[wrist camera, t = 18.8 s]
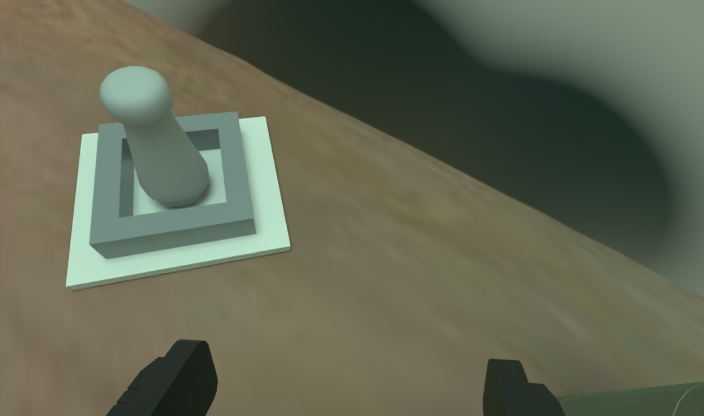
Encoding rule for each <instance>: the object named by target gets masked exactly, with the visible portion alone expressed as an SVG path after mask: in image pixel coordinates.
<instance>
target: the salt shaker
mask: <svg viewBox="0 0 704 416" xmlns="http://www.w3.org/2000/svg"><path fill="white" fill-rule="evenodd" d="M99 96H100V99H101V102H102V104H103V106H104V107H105V108H106V110H107V111H108V112H109V114H110V115H111V116H112V118H113V119H114V120H116V121H117V122H119V123H122V124H123V126H124V130H125V134H126V137H127V141H128V144H129V148H130V152H131V155H132V159H133V163H134V166H135V170H136V173H137V177H138V181H139V184H140V186H141V187H142V189H143V190H144V191H145V193H146V194H147V195H148V196H149V197H150V198H152V199H154V200H156V201H158V202H160V203H163V204H165V205H168V206H171V207H178V206H184V205H190V204H194V203H195V202H196V200H197V199H198V198H199V197H200V195H201V194H202V193H203V191H204V190H205V188H206V185H207V183H208V180H209V174H208V166H207V163H206V161H205V160H204V158H203V157H202V156H201V154H200V153H199V151H198V150H197V149H196V147H195V146H194V144H193V143H192V142H191V140H190V139H189V138H188V136H187V135H186V133H185V132H184V130H183V129H182V127H181V126H180V124H179V123H178V121H177V120H176V118H175V117H174V115H173V114H172V112H171V109H172V107H173V100H172V93H171V90H170V87H169V85H168V84H167V82H166V81H165V79H164V78H163V77H162V76H161V75H160V73H159V72H156V71H154V70H151V69H149V68H146V67H140V66H129V67H124V68H120V69H118V70H116V71H114V72H112V73H110V74H109V75H108V76H107V77H106V79H105V80H104V81H103V83H102V84H101V85H100V94H99Z"/></svg>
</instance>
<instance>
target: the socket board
mask: <svg viewBox="0 0 704 416" xmlns="http://www.w3.org/2000/svg"><path fill="white" fill-rule="evenodd" d="M175 118H176V120H177V121H178V123H179V124H180V126H181V127H182V129H183V130H184V132H185V133H186V135H187V136H188V138H189V139H190V140H191V142H192V143H193V144H194V146H195V147H196V149H197V150H198V151H199V153H200V154H201V156H202V157H203V158H204V160H205V161H206V163H207V166H208V174H209V180H208V183H207V185H206V188H205V190H204V191H203V193H202V194H201V195H200V197H199V198H198V199H197V200H196V202H195V203H194V204H190V205H184V206H178V207H171V206H168V205H165V204H163V203H160V202H158V201H156V200H154V199H152V198H150V197H149V196H148V195H147V194H146V193H145V191H144V190H143V189H142V187H141V186H140V184H139V181H138V177H137V173H136V170H135V166H134V163H133V159H132V155H131V152H130V148H129V144H128V141H127V137H126V134H125V130H124V126H123V124H122V123H119V122H118V123H108V124H99V130H98V133H93V134H83V135H82V142H81V152H80V161H79V170H78V180H77V189H76V198H75V207H74V217H73V226H72V235H71V245H70V254H69V263H68V273H67V282H66V287H68V288H69V289H71V290H78V289H83V288H89V287H94V286H99V285H105V284H110V283H116V282H121V281H127V280H132V279H138V278H143V277H149V276H154V275H159V274H165V273H170V272H176V271H181V270H187V269H192V268H198V267H203V266H209V265H214V264H219V263H225V262H230V261H236V260H241V259H247V258H252V257H258V256H263V255H269V254H274V253H279V252H285V251H290V242H289V237H288V231H287V226H286V221H285V216H284V211H283V206H282V200H281V195H280V190H279V185H278V180H277V175H276V170H275V164H274V159H273V154H272V149H271V144H270V139H269V134H268V128H267V123H266V118H265V117H256V118H246V119H239V118H238V113H237V111H236V112H225V113H215V114H204V115H193V116H182V117H175Z"/></svg>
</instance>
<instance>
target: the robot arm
mask: <svg viewBox="0 0 704 416" xmlns="http://www.w3.org/2000/svg"><path fill="white" fill-rule="evenodd" d="M217 384H218V379H217V374H216V370H215V367H214V363H213V360H212V356H211V352H210V349H209V345H208V343H207V342H206V341H201V340H184V339H180V340H178V341H176V342H175V343H174V345H173V346H172V347H171V349H170V350H169V351H168V353H167V354H166V355H165V357H158V358H157V359H155V360H154V361H153V362H152V363H150V364H149V365H148V366H147V367H145V368H144V369H143V370H141V371H140V373H139V374H138V375H137V377H136V378H135V379H134V380H133V382H132V383H131V384H130V385H129V387H128V390H127V391H125V392H124V393H123V394H122V396H121V397H120V398H119V400H118V401H117V404H116V405H114V406H113V407H112V409H111V410H110V411H109V412H108V414H107V415H106V416H205V415H206V413H207V411H208V410H209V408H210V406H211V404H212V402H213V400H214V397H215V395H216V391H217ZM483 415H484V416H704V381H703V382H694V383H684V384H675V385H666V386H657V387H648V388H639V389H630V390H621V391H612V392H603V393H594V394H582V395H573V396H564V397H554V396H553V394H552V393H551V392H550V391H549V390H548V389H547V388H546V386H545V385H544V384H536V383H528V380H527V377H526V374H525V372H524V369H523V366H522V364H521V362H520V361H518V360H502V359H489V361H488V366H487V373H486V380H485V387H484V395H483Z"/></svg>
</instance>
